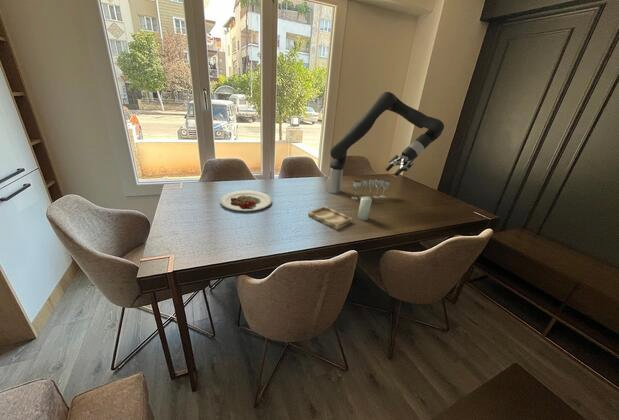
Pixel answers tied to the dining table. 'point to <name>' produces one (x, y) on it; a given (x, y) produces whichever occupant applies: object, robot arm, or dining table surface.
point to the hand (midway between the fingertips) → (390, 172)
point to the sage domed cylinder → (364, 208)
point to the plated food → (246, 200)
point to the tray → (330, 217)
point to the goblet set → (371, 186)
